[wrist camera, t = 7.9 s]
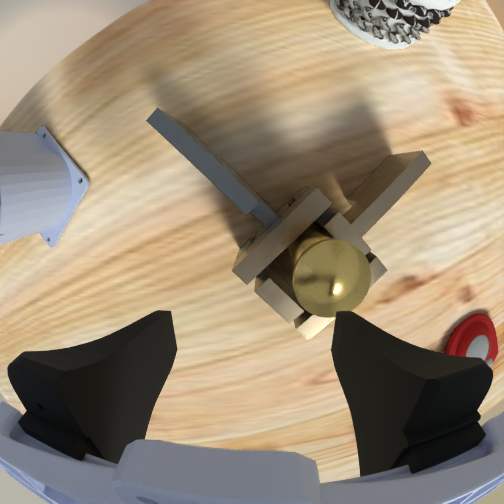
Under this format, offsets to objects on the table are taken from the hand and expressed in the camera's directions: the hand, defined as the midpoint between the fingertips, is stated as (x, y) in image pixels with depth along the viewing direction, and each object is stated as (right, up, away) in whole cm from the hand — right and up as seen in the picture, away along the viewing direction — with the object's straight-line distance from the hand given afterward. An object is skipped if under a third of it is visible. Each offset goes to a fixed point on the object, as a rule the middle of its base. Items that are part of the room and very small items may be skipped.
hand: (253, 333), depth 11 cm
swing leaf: (+6, +6, +8) cm, 12 cm away
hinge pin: (+4, +4, +9) cm, 10 cm away
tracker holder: (+23, -8, +11) cm, 27 cm away
